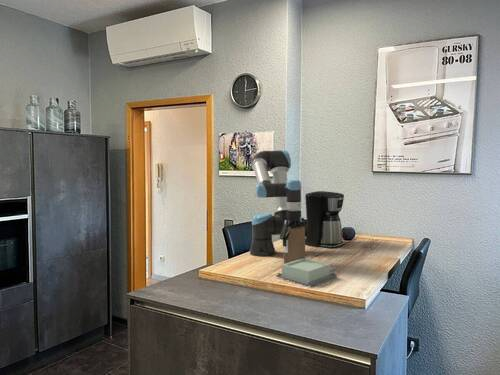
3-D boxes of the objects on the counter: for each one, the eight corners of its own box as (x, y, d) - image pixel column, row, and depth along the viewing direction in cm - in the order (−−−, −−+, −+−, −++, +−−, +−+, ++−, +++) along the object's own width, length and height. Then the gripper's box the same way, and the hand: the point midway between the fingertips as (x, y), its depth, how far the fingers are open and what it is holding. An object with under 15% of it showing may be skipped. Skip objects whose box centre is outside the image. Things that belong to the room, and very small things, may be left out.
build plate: (276, 277, 185) (275, 264, 185) (303, 268, 199) (302, 256, 199) (309, 287, 171) (309, 273, 170) (336, 276, 184) (336, 263, 184)
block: (302, 267, 200) (302, 229, 199) (283, 266, 203) (282, 228, 202) (305, 262, 210) (305, 225, 208) (287, 261, 213) (286, 225, 211)
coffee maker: (343, 249, 238) (343, 194, 235) (290, 247, 246) (290, 193, 244) (344, 241, 260) (344, 190, 257) (296, 239, 268) (295, 190, 266)
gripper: (283, 213, 193) (283, 255, 195) (314, 208, 210) (314, 247, 212) (272, 211, 199) (272, 253, 200) (303, 206, 216) (303, 245, 217)
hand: (294, 250), depth 206 cm, fingers closed on block, 13 cm apart
